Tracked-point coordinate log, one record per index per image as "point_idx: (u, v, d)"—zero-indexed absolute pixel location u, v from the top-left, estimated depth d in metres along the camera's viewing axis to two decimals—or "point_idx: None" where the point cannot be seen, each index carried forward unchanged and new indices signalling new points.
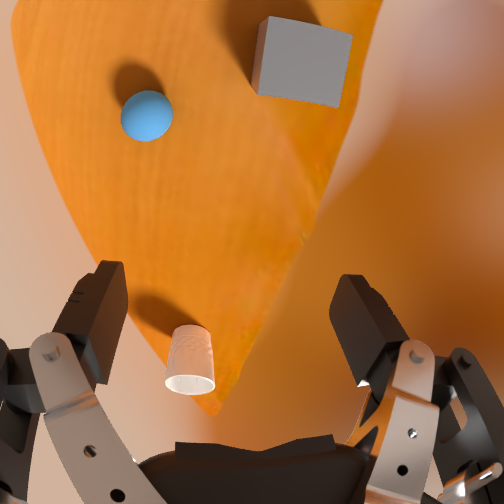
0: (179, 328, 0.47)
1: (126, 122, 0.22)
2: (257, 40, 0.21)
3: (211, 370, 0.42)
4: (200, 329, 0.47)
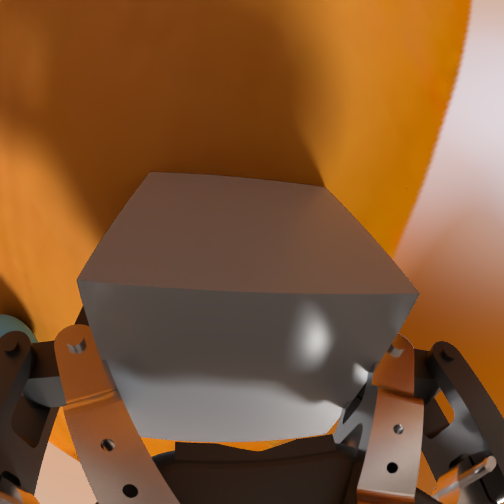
0: None
1: None
2: None
3: None
4: None
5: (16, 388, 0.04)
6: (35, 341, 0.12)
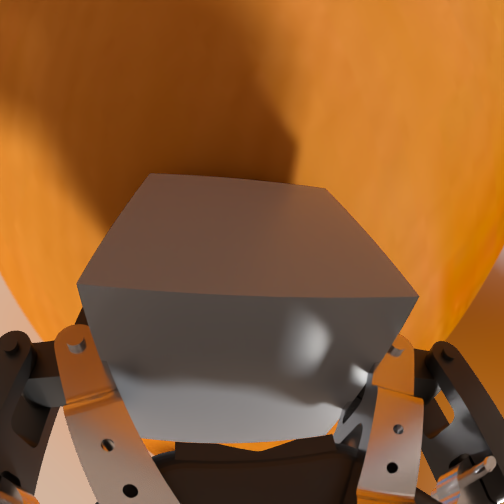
0: None
1: None
2: None
3: None
4: None
5: (16, 388, 0.04)
6: None
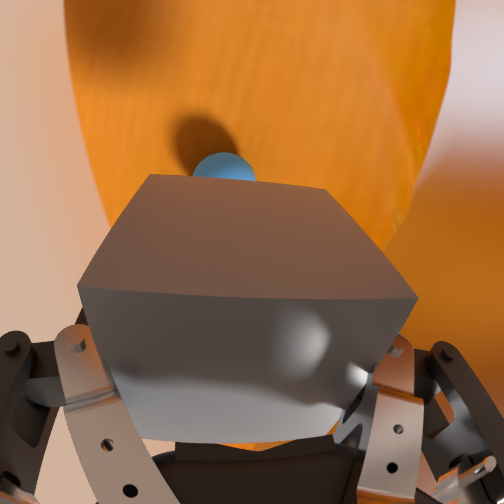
0: None
1: (208, 158, 0.20)
2: None
3: None
4: None
5: (16, 388, 0.04)
6: None
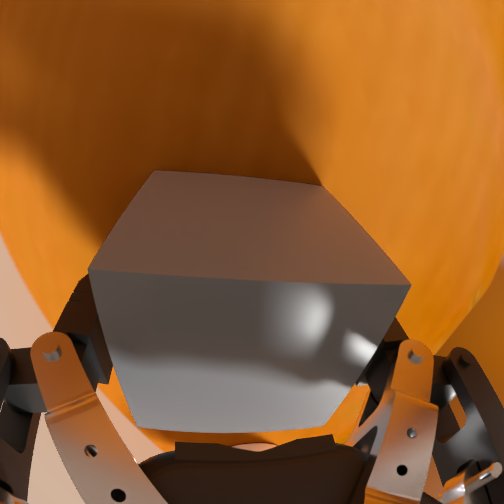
0: None
1: None
2: None
3: None
4: None
5: None
6: None
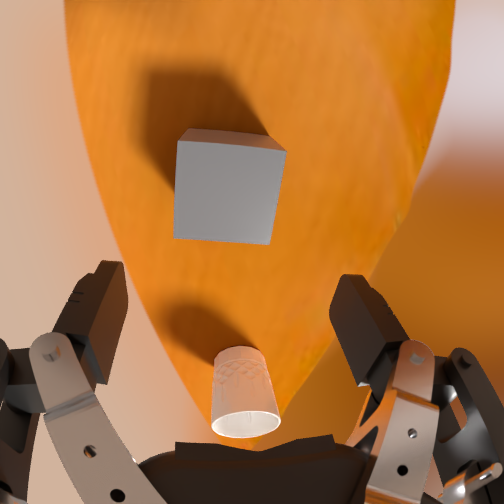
0: (226, 351, 0.35)
1: None
2: None
3: (275, 403, 0.30)
4: (254, 351, 0.35)
5: None
6: None
